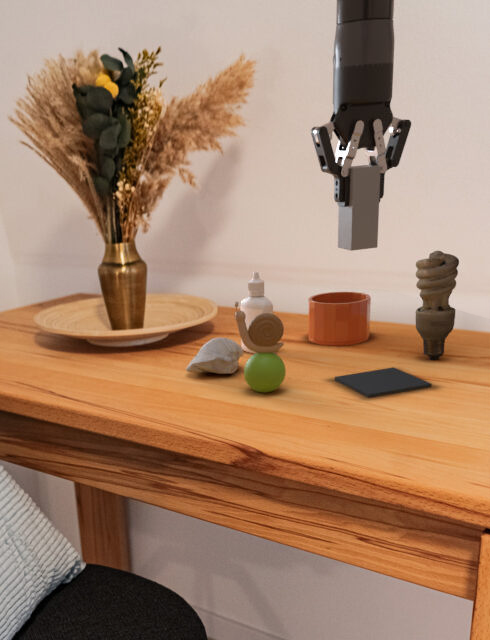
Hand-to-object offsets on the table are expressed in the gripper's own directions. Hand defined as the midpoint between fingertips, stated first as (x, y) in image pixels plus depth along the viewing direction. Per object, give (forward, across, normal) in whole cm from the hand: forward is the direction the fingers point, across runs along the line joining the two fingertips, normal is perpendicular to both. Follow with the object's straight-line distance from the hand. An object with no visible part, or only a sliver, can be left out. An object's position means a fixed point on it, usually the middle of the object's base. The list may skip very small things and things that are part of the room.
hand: (358, 203), depth 115 cm
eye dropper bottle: (+22, -11, +11) cm, 26 cm away
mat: (+21, -3, -14) cm, 26 cm away
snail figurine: (+22, -18, -9) cm, 30 cm away
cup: (+21, +3, +11) cm, 24 cm away
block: (+6, 0, 0) cm, 6 cm away
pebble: (+22, -21, +3) cm, 30 cm away
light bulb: (+22, +8, -7) cm, 24 cm away
